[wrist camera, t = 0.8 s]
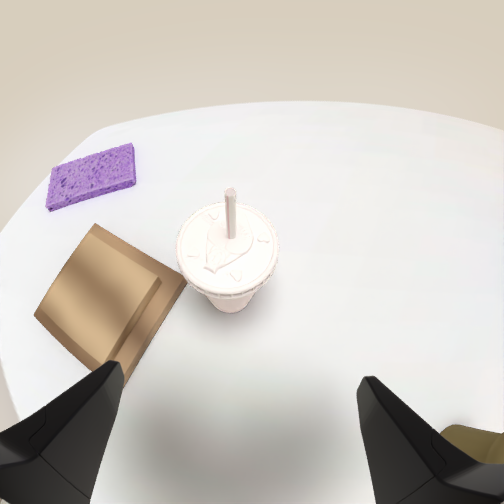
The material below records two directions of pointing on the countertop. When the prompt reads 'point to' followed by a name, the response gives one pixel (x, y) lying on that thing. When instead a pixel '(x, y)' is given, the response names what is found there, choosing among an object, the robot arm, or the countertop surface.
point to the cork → (477, 443)
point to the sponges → (91, 177)
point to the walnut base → (145, 321)
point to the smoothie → (227, 252)
